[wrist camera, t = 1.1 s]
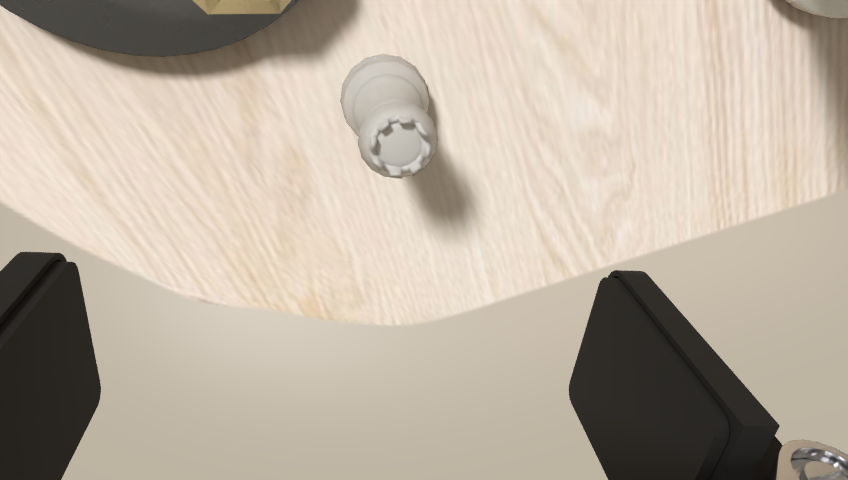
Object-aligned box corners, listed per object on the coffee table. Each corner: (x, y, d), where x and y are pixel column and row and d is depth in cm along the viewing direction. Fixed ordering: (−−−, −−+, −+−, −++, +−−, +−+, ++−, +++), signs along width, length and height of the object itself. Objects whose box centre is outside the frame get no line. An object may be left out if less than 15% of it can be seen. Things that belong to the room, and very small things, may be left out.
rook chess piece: (408, 149, 31) (431, 213, 24) (328, 122, 30) (328, 181, 23) (440, 70, 30) (474, 115, 23) (356, 38, 28) (365, 75, 21)
